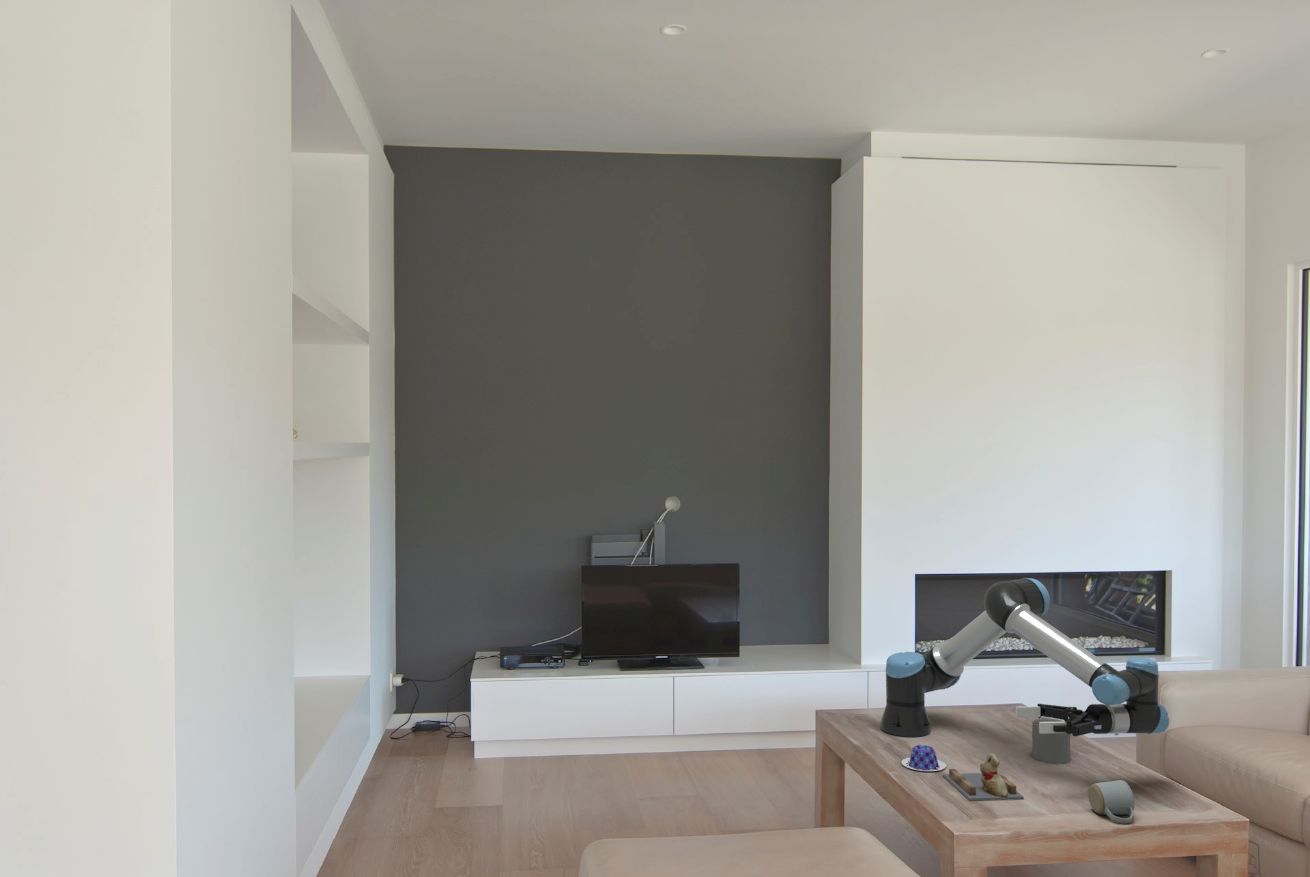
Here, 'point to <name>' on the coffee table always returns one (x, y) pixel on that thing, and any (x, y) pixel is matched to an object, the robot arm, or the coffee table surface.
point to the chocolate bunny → (992, 777)
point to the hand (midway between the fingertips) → (1027, 719)
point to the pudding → (923, 759)
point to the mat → (978, 788)
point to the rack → (970, 787)
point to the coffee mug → (1050, 743)
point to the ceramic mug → (1112, 800)
